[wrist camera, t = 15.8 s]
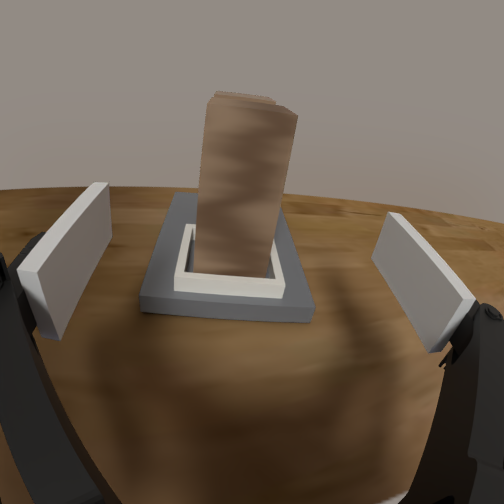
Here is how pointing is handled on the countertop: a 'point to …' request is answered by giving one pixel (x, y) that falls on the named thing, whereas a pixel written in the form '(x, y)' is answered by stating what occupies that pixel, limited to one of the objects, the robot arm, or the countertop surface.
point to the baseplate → (222, 286)
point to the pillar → (241, 185)
